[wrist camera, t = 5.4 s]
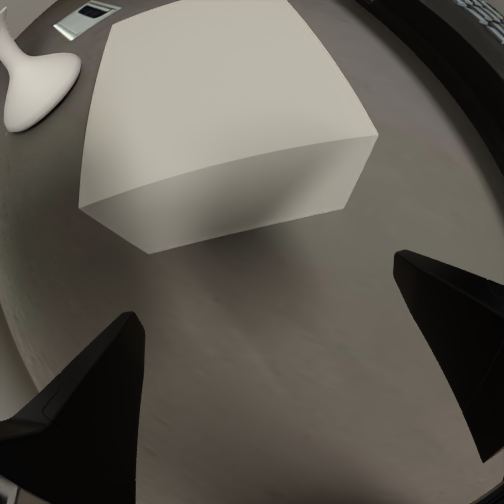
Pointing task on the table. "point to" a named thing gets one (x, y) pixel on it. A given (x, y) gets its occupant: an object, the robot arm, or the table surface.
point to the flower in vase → (33, 81)
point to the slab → (218, 124)
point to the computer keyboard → (457, 54)
